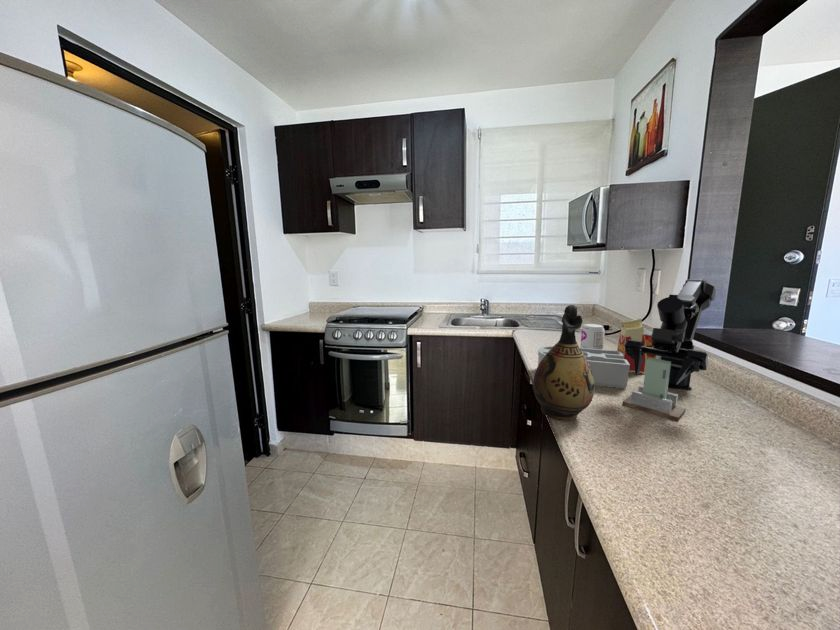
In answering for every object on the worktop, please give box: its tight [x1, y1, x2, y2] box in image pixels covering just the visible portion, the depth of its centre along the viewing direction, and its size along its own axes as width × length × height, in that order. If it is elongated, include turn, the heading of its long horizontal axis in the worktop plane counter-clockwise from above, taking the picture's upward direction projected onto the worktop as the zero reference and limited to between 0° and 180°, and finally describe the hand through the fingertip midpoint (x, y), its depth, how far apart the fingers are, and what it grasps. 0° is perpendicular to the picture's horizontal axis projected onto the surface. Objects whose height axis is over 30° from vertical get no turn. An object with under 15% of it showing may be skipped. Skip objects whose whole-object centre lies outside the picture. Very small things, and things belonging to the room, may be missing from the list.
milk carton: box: [616, 317, 647, 375], centre depth 122 cm, size 9×9×20 cm
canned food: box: [643, 331, 661, 360], centre depth 129 cm, size 8×8×12 cm
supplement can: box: [579, 323, 606, 350], centre depth 132 cm, size 8×8×15 cm
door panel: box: [642, 358, 671, 399], centre depth 90 cm, size 3×5×13 cm, turn 41°
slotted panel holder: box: [621, 385, 687, 422], centre depth 91 cm, size 13×8×4 cm, turn 40°
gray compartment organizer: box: [537, 345, 630, 390], centre depth 116 cm, size 17×28×9 cm, turn 68°
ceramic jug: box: [532, 304, 595, 421], centre depth 88 cm, size 17×15×30 cm
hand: (655, 379), depth 89 cm, fingers open, 9 cm apart
